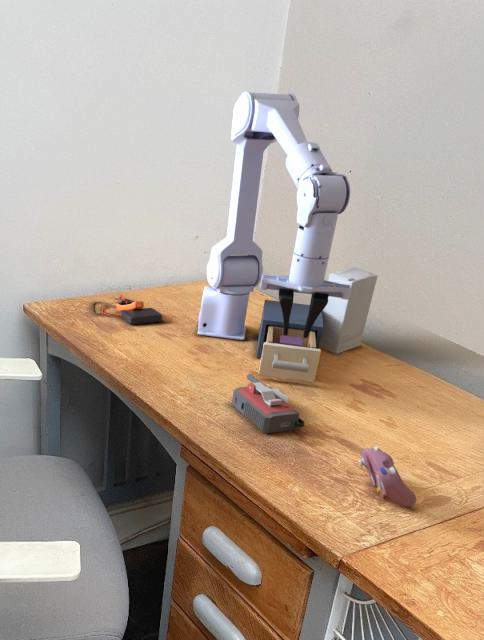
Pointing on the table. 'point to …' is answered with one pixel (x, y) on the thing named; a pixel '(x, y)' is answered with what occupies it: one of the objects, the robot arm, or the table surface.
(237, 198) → the robot arm
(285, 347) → the drawer
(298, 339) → the block
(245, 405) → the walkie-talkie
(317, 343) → the cabinet
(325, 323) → the cosmetic box
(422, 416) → the table surface
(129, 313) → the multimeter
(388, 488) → the video game controller
